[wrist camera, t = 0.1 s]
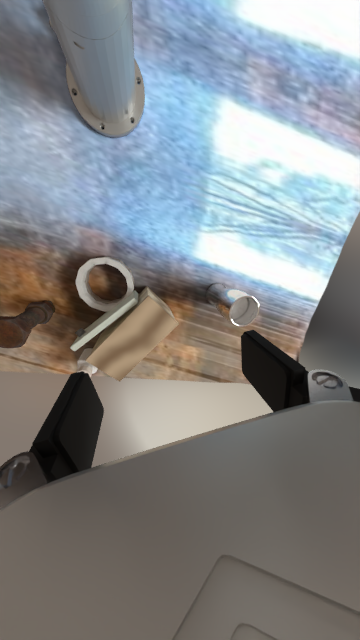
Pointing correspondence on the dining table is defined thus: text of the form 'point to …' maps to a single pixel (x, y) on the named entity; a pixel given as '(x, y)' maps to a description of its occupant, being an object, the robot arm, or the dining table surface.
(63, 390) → the robot arm
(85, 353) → the pepper shaker
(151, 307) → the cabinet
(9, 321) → the bolt
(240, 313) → the silver tall cylinder
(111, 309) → the grey piece
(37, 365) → the dining table surface
